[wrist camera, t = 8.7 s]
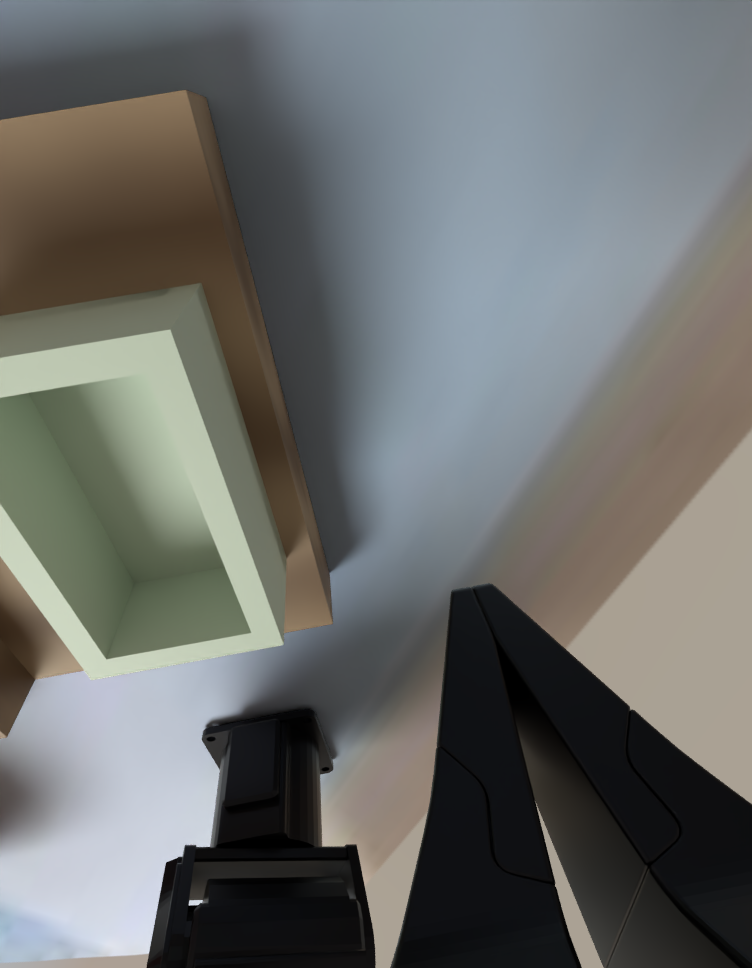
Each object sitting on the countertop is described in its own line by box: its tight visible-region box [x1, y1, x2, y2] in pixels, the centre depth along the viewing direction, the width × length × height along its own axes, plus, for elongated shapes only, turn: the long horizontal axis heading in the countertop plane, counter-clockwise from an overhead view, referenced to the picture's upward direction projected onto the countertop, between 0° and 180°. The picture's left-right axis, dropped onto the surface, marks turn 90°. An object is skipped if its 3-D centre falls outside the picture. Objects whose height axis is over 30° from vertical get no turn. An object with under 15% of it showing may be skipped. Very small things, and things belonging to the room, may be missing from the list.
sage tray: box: [0, 283, 287, 680], centre depth 15 cm, size 10×6×4 cm, turn 7°
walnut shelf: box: [0, 90, 333, 739], centre depth 17 cm, size 18×14×6 cm
